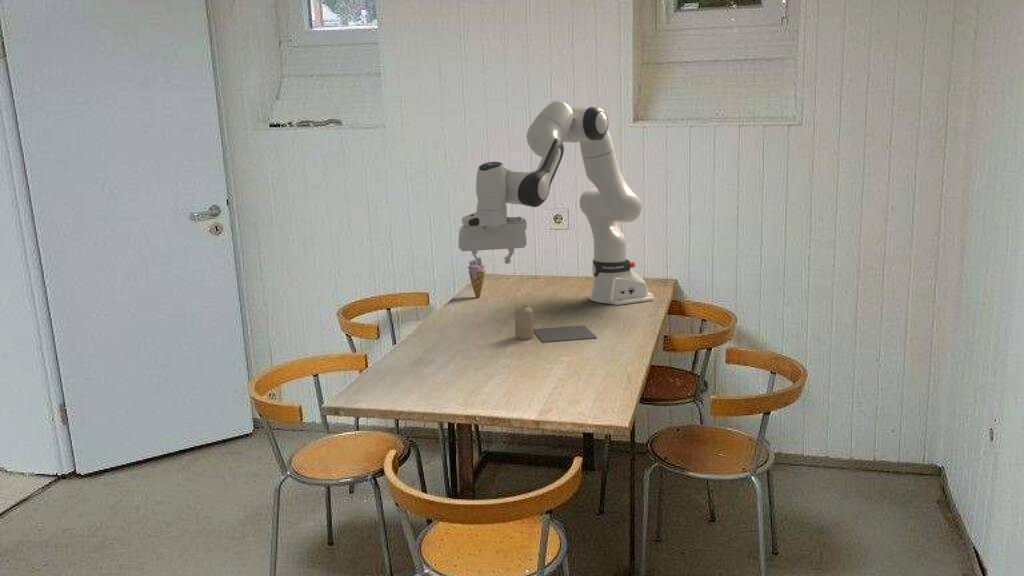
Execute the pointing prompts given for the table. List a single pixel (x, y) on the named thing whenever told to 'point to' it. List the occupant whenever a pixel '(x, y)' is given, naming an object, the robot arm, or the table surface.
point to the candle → (524, 322)
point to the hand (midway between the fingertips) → (493, 264)
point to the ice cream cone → (477, 276)
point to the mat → (564, 333)
